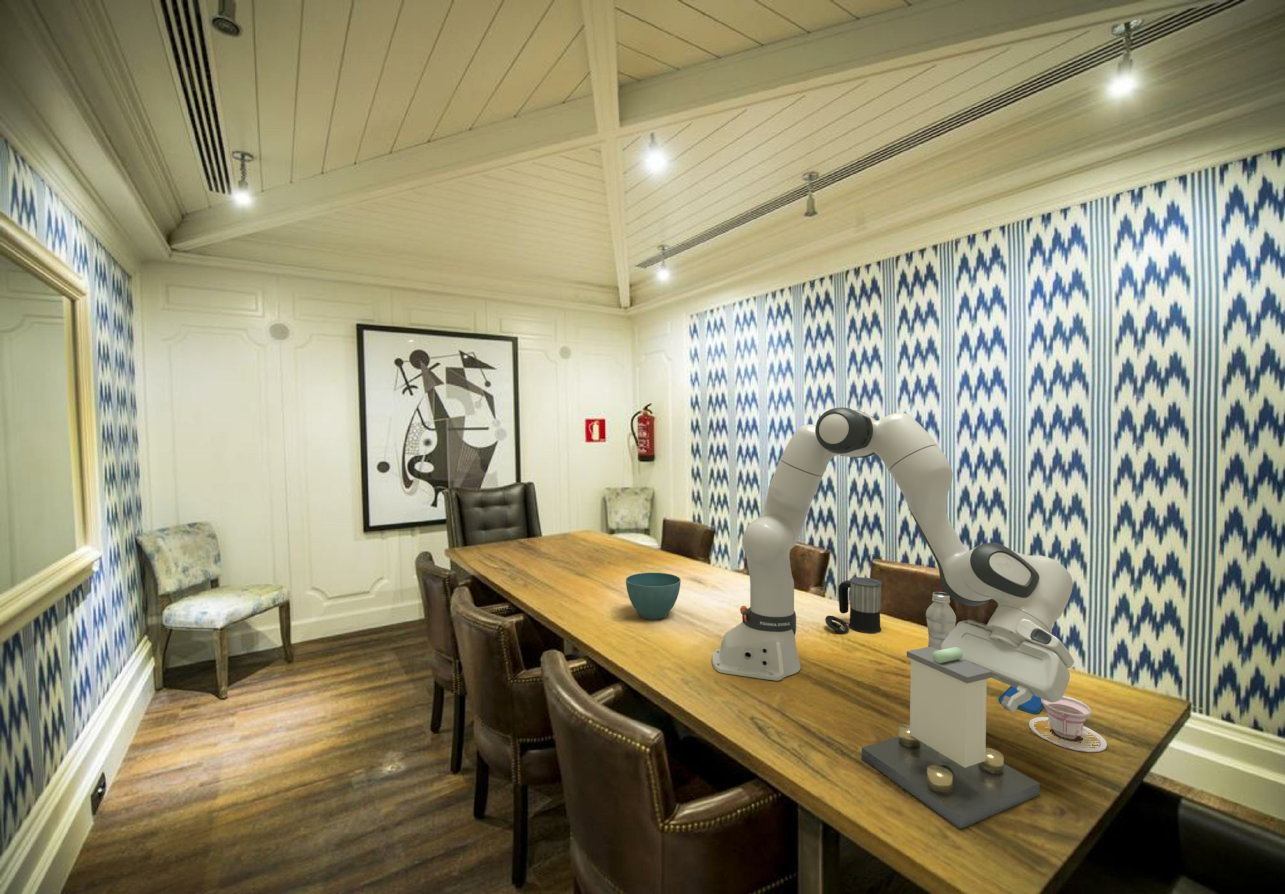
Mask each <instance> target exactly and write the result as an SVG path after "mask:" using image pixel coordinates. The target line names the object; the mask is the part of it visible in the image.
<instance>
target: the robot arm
mask: <svg viewBox="0 0 1285 894" xmlns="http://www.w3.org/2000/svg"><path fill="white" fill-rule="evenodd" d="M874 455H877V456H878V457H879V459H880V460H881V461H882V462H883V464H884V466H885V467H886V468H887V470H888V471H889V473H890V474H891V476H892V478H893V479H894V481H895V482H896V484H897V486H898V489H899V490H900V492H901V493H902V495H903V497H904V500H905V502H906V505H907V507H908V508H909V511H910V513H911V514H910V515H911V516H912V518H913V520H914V523H915V524H916V526H917V528H918V529H919V532H920V533H921V535H922V538H923V539H924V541H925V543H926V545H927V546H928V548H929V550H930V552H931V554H932V556H933V558H934V560H935V562H936V565H937V569H938V573H939V578H940V582H941V585H942V588H943V589H944V591H945V593H947V594H948V595H949V596H950V599H951V598H952V600H954V601H956V602H957V603H959V604H961V605H963V606H964V605H965V606H967V607H968V606H969V607H978V606H982V605H984V604H986V603H987V602H990V601H991V600H994V601H996V603H997V606H996V609H995V610H994V612H993V614H992V615H991V617H990V619H989V620H988V622H987V624H986V623H982V622H979V621H976V620H973V619H967V620H962V621H959V622H957V623H956V624H955V628H954V629H953V630H952V631H951V632H950V634H949V635H948V636H947V637H946V639H945V640H944V641H943V643H942V644H941V650H943V649H948V648H953V647H958V648H959V649H961V651H962V653H963V657H962V658H961V659H962V660H965V661H967V662H970V663H972V664H975V665H977V666H980V667H982V668H985V669H987V670H990V671H992V678H991V679H994V680H996V681H998V682H1001V683H1003V684H1006V685H1009V687H1010V686H1013V687H1015V688H1017V690H1018V691H1019V692H1018V693H1016V694H1015V695H1013V696H1011V697H1008V696H1005V697H1004V698H1003V699H1004V700H1003V701H1002V702H1001V703H1000V705H1001V706H1002V707H1003V709H1005V710H1007V711H1009V712H1010V713H1016V711H1017V710H1018V709H1017V707H1018V705H1021V704H1023V703H1025V702H1027V701H1029V700H1031V698H1032V696H1033V695H1034V696H1037V697H1039V698H1042V699H1044V700H1046V701H1049V702H1052V703H1053V702H1056V701H1059V700H1061V698H1062V697H1063V696H1065V692H1066V690H1067V687H1068V684H1069V683H1070V677H1071V674H1070V671H1069V669H1070V668H1072V667H1073V665H1074V663H1075V660H1074V658H1073V656H1072V654H1071V653H1070V651H1069V649H1068V648H1067V647H1066V646H1065V645H1064V643H1063V642H1062V641H1061V640H1060V639H1059V638H1057V637H1056V636H1055V635H1054V634H1052V629H1053V625H1054V623H1055V622H1056V621H1058V620H1059V619H1060V618H1061V617H1062V615H1063V612H1064V611H1065V609H1066V607H1067V605H1068V602H1069V601H1070V597H1071V595H1072V591H1073V587H1074V586H1073V584H1074V583H1073V578H1072V575H1071V573H1070V572H1069V571H1068V569H1067V568H1066V567H1065V566H1064V565H1062V563H1060V562H1058V560H1055V559H1053V558H1052V557H1048V556H1044V555H1030V554H1024V553H1020V552H1018V551H1015V550H1012V549H1010V548H1009V547H1007V546H1006V545H1003V544H1000V543H996V542H985V543H982V544H980V545H978V546H975V547H973V548H972V549H969V550H967V549H966V548H965V546H964V544H963V542H962V540H961V539H960V537H959V536H958V533H957V532H956V530H955V528H954V527H953V525H952V523H951V521H950V519H949V517H948V513H947V499H948V495H949V492H950V489H951V486H952V482H953V476H954V475H953V469H952V467H951V465H950V463H949V460H948V458H947V457H946V455H945V454H944V452H943V451H942V449H941V447H940V446H939V445H938V444H937V443H936V441H935V440H934V438H933V437H932V436H931V434H930V433H929V432H928V431H927V430H926V429H925V428H924V427H923V426H922V425H921V424H920V423H919V422H918V421H917V420H916V419H915V418H914V417H912V415H910V414H908V413H905V412H894V413H891V414H888V415H886V416H884V417H882V418H881V419H879V420H878V419H877V418H876V417H875V416H872V415H870V414H868V413H865V412H863V411H861V410H856V409H852V408H848V407H834V408H830V409H829V410H827V411H825V412H823V413H822V414H821V415H820V416H819V418H818V420H817V421H816V424H804V425H801V426H799V427H797V429H796V430H795V432H794V433H793V435H792V436H791V438H790V440H789V441H788V443H787V444H786V446H785V448H784V450H783V452H782V454H781V457H780V459H779V462H778V463H777V467H776V469H775V471H774V474H773V476H772V478H771V481H770V483H769V485H768V491H767V496H766V500H765V505H764V508H763V510H762V513H761V514H760V515H759V518H756V519H754V520H752V521H751V522H750V523H749V524H748V525H747V527H746V528H745V530H744V532H743V535H742V537H741V544H742V548H743V551H744V553H745V557H746V562H747V568H748V575H749V585H750V586H749V587H750V588H749V590H750V591H749V593H750V594H749V595H750V596H749V599H750V603H749V604H750V605H749V606H750V607H747V606H746V605H741V607H740V608H739V612H740V614H741V618H742V619H741V620H742V622H740V623H739V624H737V625H735V627H732V628H731V629H730V630H728V631H727V632H725V634H724V635H723V636H722V637H723V638H722V640H721V645H720V647H719V648H716V649H715V650H714V651H713V653H712V655H711V656H712V658H711V664H712V667H713V668H714V669H715V670H716V671H717V672H718V673H720V674H726V675H727V674H728V675H732V676H742V677H746V678H747V677H749V678H756V679H761V680H767V681H768V680H770V681H781V680H783V679H784V678H785V677H788V676H792V675H795V674H797V673H798V672H799V671H800V670H801V669H802V667H801V662H800V659H799V655H798V649H797V642H796V633H797V632H796V631H797V614H796V611H795V581H794V578H793V574H792V569H791V559H790V557H791V556H790V553H791V550H792V549H793V548H794V547H795V546H796V544H797V543H798V541H799V538H800V535H801V532H802V530H803V527H804V524H805V522H806V518H807V516H808V512H809V510H810V506H811V504H812V502H813V499H814V497H815V494H816V493H817V490H818V488H819V486H820V484H821V481H822V479H823V476H824V474H825V472H826V469H827V467H828V465H829V464H830V462H831V460H832V459H833V458H834V457H837V456H841V457H846V458H856V459H857V458H858V459H861V458H862V459H864V458H868V457H869V458H870V457H872V456H874Z"/></svg>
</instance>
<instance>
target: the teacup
mask: <svg viewBox="0 0 1285 894" xmlns="http://www.w3.org/2000/svg"><path fill="white" fill-rule="evenodd" d="M1041 703H1042V704H1043V706H1044V707H1043V708H1044V709H1045V711H1046V713H1047V714H1048V716H1038V717H1034V718H1031V719H1030V721H1029V722H1028V725H1029V729H1030V728H1031V729H1030V730H1031V731H1032V732H1033V733H1034V734H1035V735H1037V736H1038V737H1040V738H1041V739H1043V740H1045V741H1047V742H1049V743H1051V744H1052V745H1056V746H1059V747H1061V748H1065V749H1068V750H1072V751H1076V752H1084V753H1101V752H1103V751H1105V750H1107V748H1108V743H1107V740H1106V739H1105V738H1104V737H1102V735H1100V733H1098V732H1096V731H1094V730H1093V729H1091V728H1088V727H1087V726H1084V723H1086V722H1087V718H1089V717H1091V715H1092V710H1091V708H1090V706H1089V705H1087V704H1085V702H1083V701H1081V700H1079V699H1076V698H1073V697H1072V696H1071V697H1070V696H1068V695H1063V697H1062V698H1061V700H1059V701H1056V702H1053V703H1052V702H1049V701H1046V700H1044V699H1042V698H1041ZM1038 721H1048V725H1049V726H1050V727H1051V728H1052V730H1053V731H1054V733H1055V734H1056V735H1055V734H1054V733H1053V732H1052V731H1051V732H1050V733H1053V734H1040V733H1039V732H1038V731H1037V730H1036V729H1035V728H1036V727H1034V724H1036V723H1034V722H1038ZM1045 728H1049V727H1045ZM1044 733H1049V732H1044ZM1088 733H1089V734H1088ZM1043 735H1055V736H1043ZM1086 735H1093V736H1086ZM1047 737H1056V738H1061V739H1053V740H1059V741H1060V740H1061V741H1060V742H1061V743H1058V742H1059V741H1052V740H1050V739H1048V738H1047ZM1063 737H1064V738H1063ZM1077 737H1080V738H1081V739H1082V738H1086V737H1095V738H1097V740H1098V741H1085V740H1088V739H1083V740H1080V741H1071V740H1075V739H1076V738H1077ZM1067 738H1068V740H1066V739H1067ZM1062 740H1063V741H1062ZM1064 740H1065V741H1064ZM1089 740H1091V739H1089ZM1070 742H1071V743H1070ZM1078 742H1081V743H1078ZM1082 742H1083V743H1082ZM1085 742H1088V743H1085ZM1089 742H1090V743H1089ZM1093 742H1095V743H1093ZM1096 742H1099V743H1096ZM1092 744H1093V745H1097V744H1098V745H1099V746H1092ZM1076 745H1077V746H1076ZM1081 745H1083V746H1081ZM1084 745H1090V746H1084ZM1082 747H1086V748H1082ZM1087 747H1088V748H1087ZM1089 747H1095V748H1089Z"/></svg>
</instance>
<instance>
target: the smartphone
mask: <svg viewBox="0 0 1285 894" xmlns="http://www.w3.org/2000/svg"><path fill="white" fill-rule="evenodd" d="M1018 692H1019V691H1018V690H1017V688H1015V687H1013V686H1010V685H1009V687H1008V688H1007V689H1006V690H1005V691H1004V692H1003V693H1002V694H1001V695H1000V696H999V697H998V700H997V701H999V702H1000V703H999V702H998V703H999V704H1001V702H1002V701H1003V700H1004V699H1003V698H1004V697H1005V696H1008V697H1011V696H1013V695H1015V694H1016V693H1018ZM1017 708H1018V709H1017V710H1019V709H1020V711H1023V710H1024V711H1023V712H1025V713H1029V712H1030V713H1029V714H1032V715H1039V714H1040V712H1041V711H1042V710H1043V709H1044V708H1045V707H1044V706H1043V704H1042V703H1041V698H1039V697H1037V696H1034V695H1033V696H1032V698H1031V700H1029V701H1027V702H1025V703H1023V704H1021V705H1018V707H1017ZM1041 709H1042V710H1041ZM1040 710H1041V711H1040ZM1038 713H1039V714H1038Z"/></svg>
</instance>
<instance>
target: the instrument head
mask: <svg viewBox="0 0 1285 894" xmlns="http://www.w3.org/2000/svg"><path fill="white" fill-rule="evenodd" d="M906 657H907V658H909V659H910V689H909V690H910V694H909V696H910V697H909V698H910V700H909V725H910V735H911V736H913V737H914V738H916V739H918V740H919V741H921V742H923V743H924V744H926V745H928V746H929V747H931V748H933V749H934V750H936V751H938V757H939V759H940V760H941V761H942V762H943V763H945V764H950V763H952V762H953V761H954V762H956V763H958V764H959V765H961V766H963V767H964V768H966V767H969V766H972V765H975V764H978V763H981V762H983V761H985V752H986V748H987V746H986V743H987V742H986V740H987V688H988V687H987V685H988V683H987V682H988V680H987V679H993V678H992V671H990V670H987V669H985V668H982V667H980V666H977V665H975V664H972V663H970V662H967V661H965V660H962V659H961V658H962V657H963V653H962V651H961V649H959V648H958V647H953V648H948V649H943V650H937V649H935V648H932V647H928V646H925V647H922V648H921V647H920V648H916V649H911V650H906Z"/></svg>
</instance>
